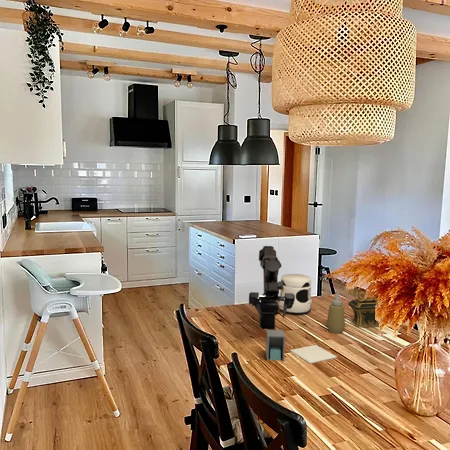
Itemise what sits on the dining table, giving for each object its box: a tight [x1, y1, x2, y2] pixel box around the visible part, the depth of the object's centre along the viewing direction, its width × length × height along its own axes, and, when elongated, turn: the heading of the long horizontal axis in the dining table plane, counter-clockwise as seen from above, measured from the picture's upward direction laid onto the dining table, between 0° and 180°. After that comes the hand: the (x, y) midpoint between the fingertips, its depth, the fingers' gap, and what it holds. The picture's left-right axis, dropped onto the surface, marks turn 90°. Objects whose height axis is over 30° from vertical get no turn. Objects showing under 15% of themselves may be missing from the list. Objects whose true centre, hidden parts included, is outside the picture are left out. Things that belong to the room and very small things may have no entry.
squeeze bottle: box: [326, 292, 346, 334], centre depth 197 cm, size 8×8×18 cm
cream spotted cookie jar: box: [277, 273, 313, 315], centre depth 225 cm, size 17×17×18 cm
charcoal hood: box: [265, 329, 286, 362], centre depth 168 cm, size 6×6×10 cm
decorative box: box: [345, 287, 380, 328], centre depth 206 cm, size 20×10×20 cm, turn 99°
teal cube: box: [269, 346, 282, 361], centre depth 168 cm, size 4×4×4 cm
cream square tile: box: [290, 344, 338, 364], centre depth 172 cm, size 13×13×1 cm
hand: (272, 317), depth 175 cm, fingers open, 9 cm apart
